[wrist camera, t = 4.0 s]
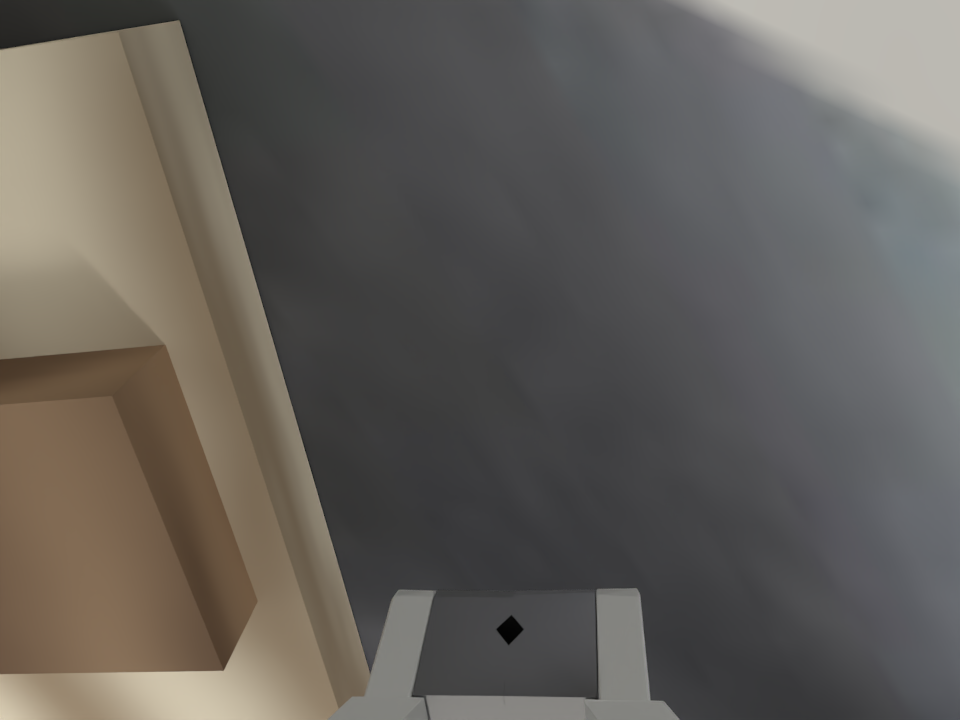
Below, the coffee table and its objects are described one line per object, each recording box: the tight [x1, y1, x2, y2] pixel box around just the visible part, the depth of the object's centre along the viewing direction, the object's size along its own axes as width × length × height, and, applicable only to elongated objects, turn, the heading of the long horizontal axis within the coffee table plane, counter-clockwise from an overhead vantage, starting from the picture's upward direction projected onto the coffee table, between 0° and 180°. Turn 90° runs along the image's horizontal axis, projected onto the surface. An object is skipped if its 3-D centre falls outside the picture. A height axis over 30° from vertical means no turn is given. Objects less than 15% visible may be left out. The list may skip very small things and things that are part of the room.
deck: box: [0, 20, 370, 720], centre depth 17 cm, size 12×16×2 cm
